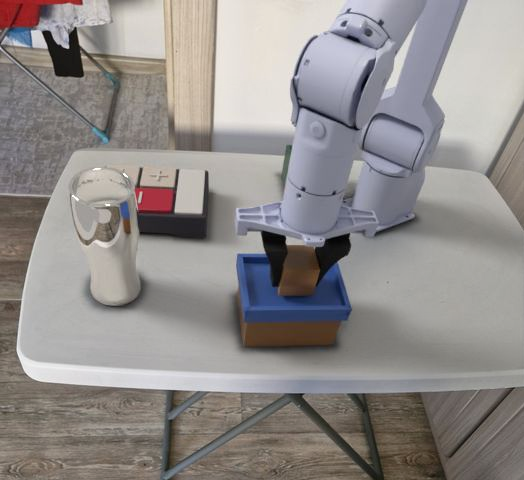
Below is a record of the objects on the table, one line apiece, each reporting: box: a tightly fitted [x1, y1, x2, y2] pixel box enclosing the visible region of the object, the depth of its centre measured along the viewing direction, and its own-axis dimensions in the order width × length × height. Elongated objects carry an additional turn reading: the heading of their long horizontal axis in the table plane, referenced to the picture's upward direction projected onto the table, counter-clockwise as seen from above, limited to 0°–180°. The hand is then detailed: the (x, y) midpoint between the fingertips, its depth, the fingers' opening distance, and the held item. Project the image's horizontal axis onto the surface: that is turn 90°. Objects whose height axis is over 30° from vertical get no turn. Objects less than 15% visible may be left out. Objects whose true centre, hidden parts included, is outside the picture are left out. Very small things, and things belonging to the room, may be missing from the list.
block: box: [277, 244, 320, 296], centre depth 59 cm, size 4×4×4 cm
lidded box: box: [235, 253, 353, 348], centre depth 63 cm, size 12×9×7 cm
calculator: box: [104, 163, 210, 239], centre depth 74 cm, size 11×4×15 cm
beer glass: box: [68, 166, 142, 307], centre depth 60 cm, size 7×7×15 cm
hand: (293, 280), depth 60 cm, fingers closed on block, 4 cm apart
